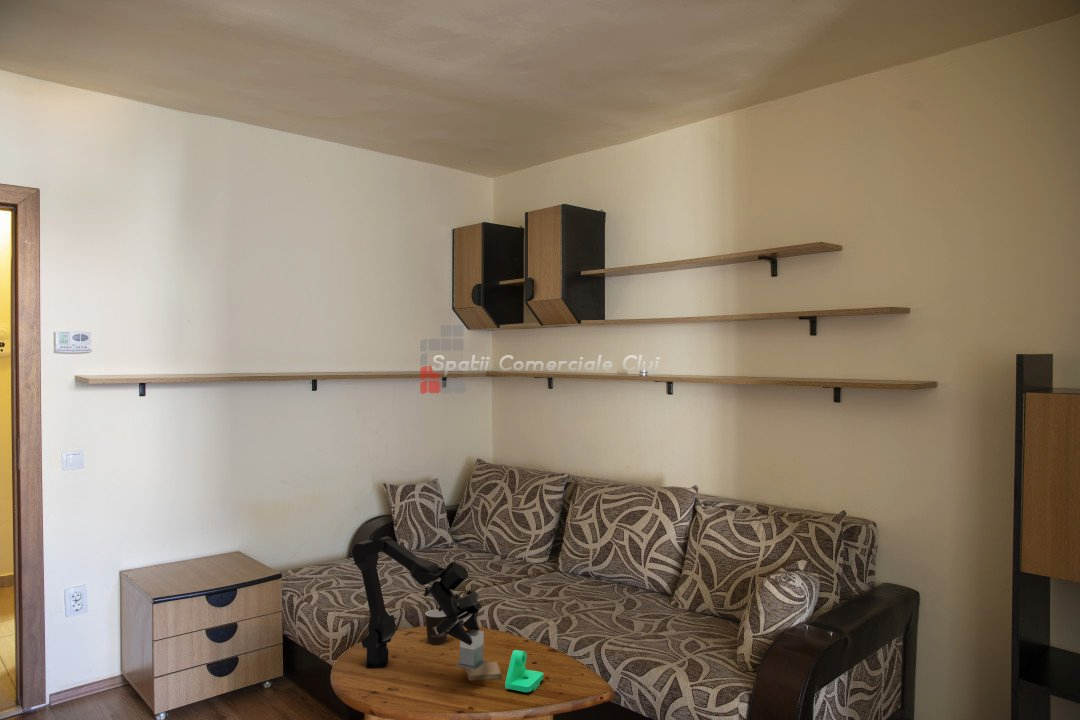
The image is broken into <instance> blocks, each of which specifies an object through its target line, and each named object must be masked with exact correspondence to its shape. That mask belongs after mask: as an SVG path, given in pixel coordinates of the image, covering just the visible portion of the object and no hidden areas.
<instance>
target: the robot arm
mask: <svg viewBox="0 0 1080 720" xmlns="http://www.w3.org/2000/svg"><path fill="white" fill-rule="evenodd" d="M379 552H382V553H384V554H385V555H386V556H388V557H389V558H391V559H392V560H394V561H396V563H398V564H400V565H401V566H403V567H404V568H405V569H407V570H408V571H409V573H410V575H411V577H412V578H413V580H415V581H416V583H418V584H419V585H421V586H425V585H426V587H425V588H424V594H423V596H424V598H425V597H429V596H431V597H432V598H433V599H434V601H435V602H436V604H437V605H438V608H437V609H438V610H439V612H441V611H443V612H444V614H445V615H446V617H445V618H444V619H443V620H442V621H441V622H440V623H439V624H438V625H437V626H436V631H437V633H438V634H439V636H440V635H442V634H444V633H445V630H446V629H447V628H448V632H447V633H446V635H447V636H448V635H449V636H450V637H452V638H455V639H457V640H459V641H460V640H461V641H462V642H464V643H466V644H468V645H471V644H472V641H471V639H470V638H469V636H468V634H467V633H466V630H468V629H475V630H480V627H479V624H478V615H479V612H480V611H481V609H482V608H483V606H482V605H481V604H480V602H479V601H478V597H479V594H478V593H477V592H476V590H475V589H473V588H472V589H470V590H468V591H466V595H464V596H461V595H460V594H458V593H457V594H454V592H453V591H455V590H457V589H458V588H459V587H460V586H461V585H462V583H464V582H465V581H467V579H468V577H469V573H468V571H467V569H466V567H464V566H462V565H461V564H460V563H459V564H458V563H457V562H456V561H455V560H454V561H451V562H450V563H449V564H447V565H448V566H447V567H446V568H444V567H441V566H439V565H438V564H437V563H435V562H433V561H431V560H429V559H424V558H421V557H419V556H418V555H415V554H414V553H413V552H411V551H410V550H408V549H406V548H405V547H404V546H402V545H401V544H399V543H398V542H397V541H395V540H394V539H393V538H392V537H390V536H384V537H381V538H378V539H377V540H370V539H369V540H365V541H361V542H358V543H355V544H354V545H353V547H352V548H351V556H352V560H353V561H354V564H355V565H356V567H357V568H358V569H359V570H360V572H361V577H362V581H363V585H364V590H365V595H366V600H367V605H368V609H369V615H370V616H369V620H368V625H367V628H368V631H367V632H368V634H367V635H366V636H365V637H364V638H363V639H362V640H361V645H362V648H364V649H366V660H365V661H366V662H365V668H366V667H369V668H368V669H370V667H374V668H386V667H387V666H388V665H387V664H388V663H389V647H388V645H387V644H388V643H391V641H392V639H393V637H394V635H395V634H396V628H397V624H396V621H395V616H394V614H391V615H390V614H389V613H388V611H387V610H386V607H385V605H386V604H385V601H384V596H383V592H382V588H381V587H382V586H381V581H380V578H379V572H378V569H377V568H378V567H377V566H378V561H379V557H380V556H379ZM438 580H439V581H438ZM430 583H432V584H431V585H429V584H430ZM427 585H428V586H427ZM465 629H466V630H465ZM480 631H481V630H480Z"/></svg>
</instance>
